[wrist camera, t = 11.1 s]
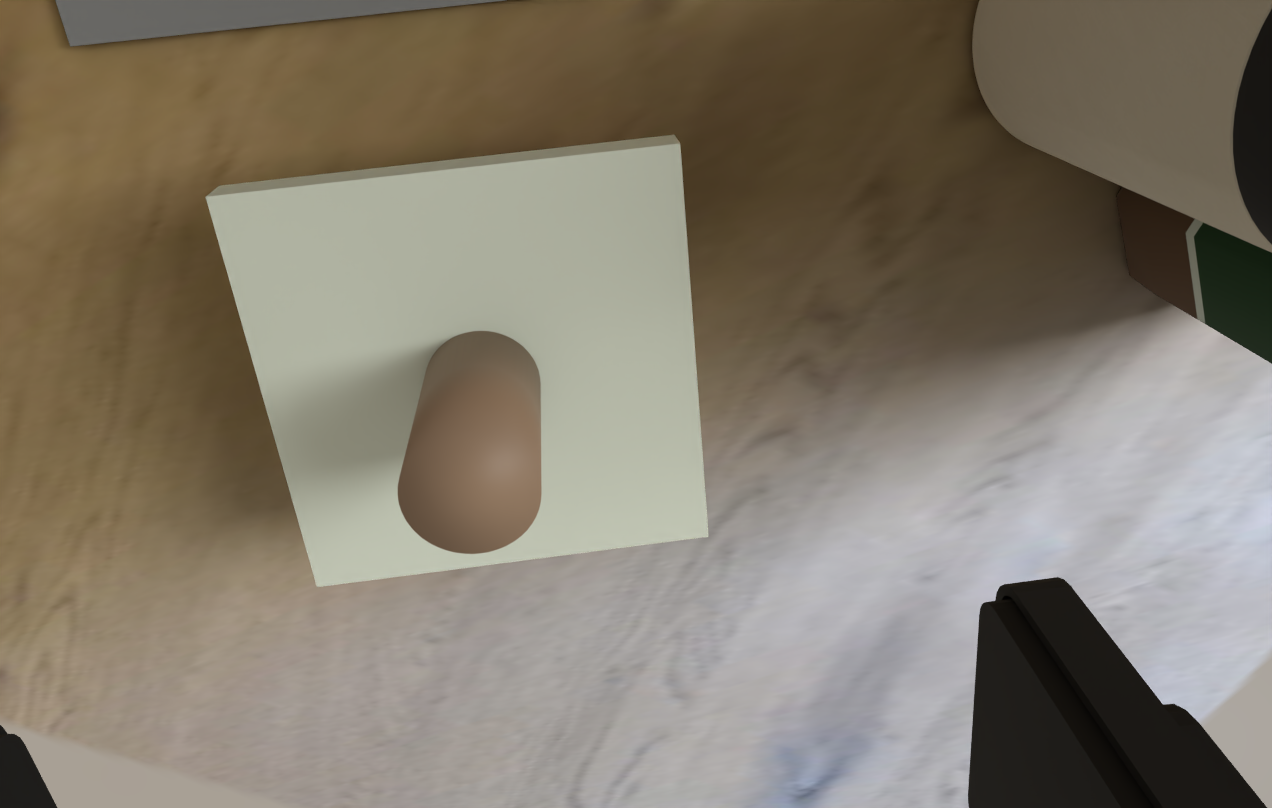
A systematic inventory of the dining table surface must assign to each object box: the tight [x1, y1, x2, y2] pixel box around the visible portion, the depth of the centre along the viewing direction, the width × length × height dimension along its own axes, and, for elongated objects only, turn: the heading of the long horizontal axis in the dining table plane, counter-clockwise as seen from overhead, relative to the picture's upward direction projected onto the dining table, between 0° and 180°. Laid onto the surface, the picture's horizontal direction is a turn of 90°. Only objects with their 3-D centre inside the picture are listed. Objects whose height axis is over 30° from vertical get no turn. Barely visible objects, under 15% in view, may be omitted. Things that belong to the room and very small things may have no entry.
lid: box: [206, 135, 709, 587], centre depth 26 cm, size 12×12×7 cm
